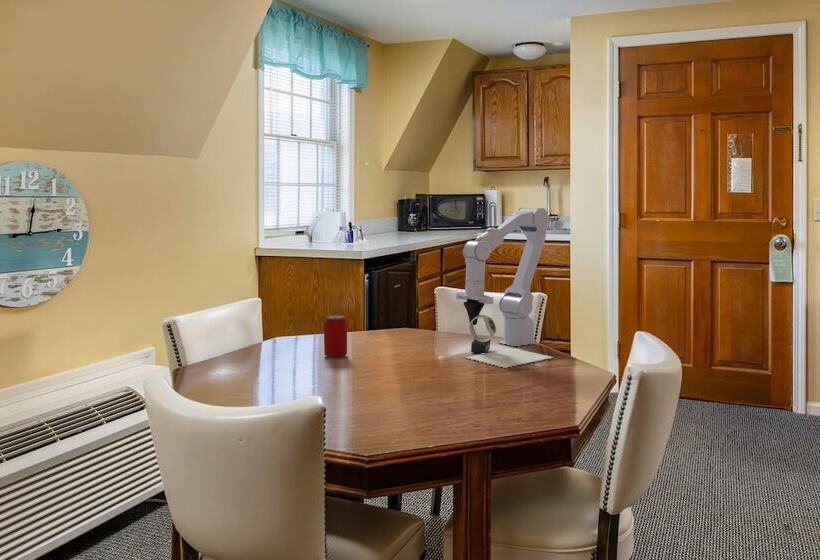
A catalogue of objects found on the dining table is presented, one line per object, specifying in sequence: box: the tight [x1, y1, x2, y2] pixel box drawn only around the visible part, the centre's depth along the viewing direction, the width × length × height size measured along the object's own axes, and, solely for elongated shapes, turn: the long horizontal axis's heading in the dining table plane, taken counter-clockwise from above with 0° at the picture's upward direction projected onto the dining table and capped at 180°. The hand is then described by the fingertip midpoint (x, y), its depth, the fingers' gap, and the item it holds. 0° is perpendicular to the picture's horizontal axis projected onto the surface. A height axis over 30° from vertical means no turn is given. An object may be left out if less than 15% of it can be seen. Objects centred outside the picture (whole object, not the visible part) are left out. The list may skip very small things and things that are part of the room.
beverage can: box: [323, 314, 348, 359], centre depth 217 cm, size 7×7×12 cm
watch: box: [468, 314, 497, 354], centre depth 222 cm, size 6×8×11 cm
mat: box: [465, 348, 554, 369], centre depth 214 cm, size 20×16×1 cm
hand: (473, 324), depth 225 cm, fingers closed, pressing on watch
